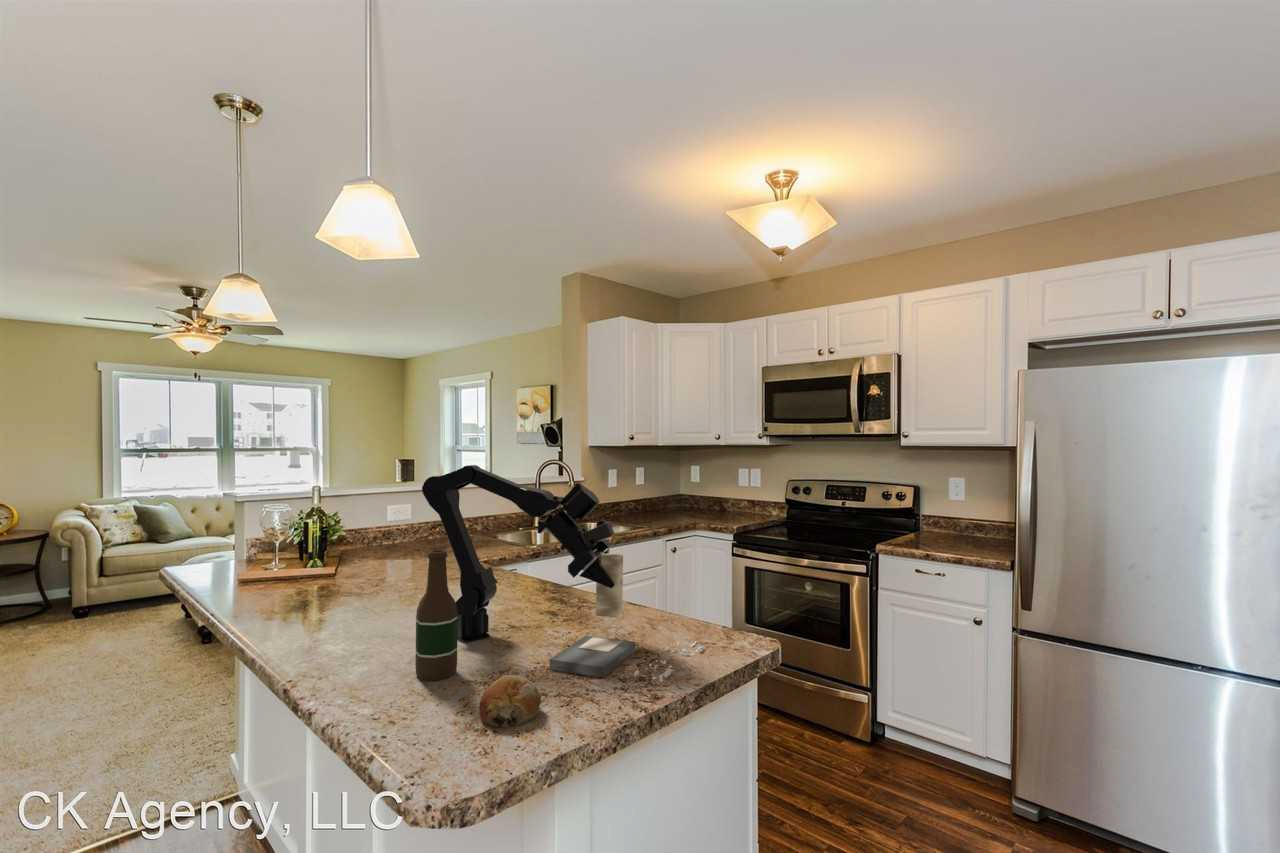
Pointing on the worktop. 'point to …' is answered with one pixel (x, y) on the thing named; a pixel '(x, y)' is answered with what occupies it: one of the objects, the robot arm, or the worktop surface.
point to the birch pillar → (610, 597)
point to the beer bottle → (436, 624)
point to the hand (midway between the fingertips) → (615, 584)
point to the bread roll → (509, 702)
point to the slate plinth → (593, 656)
